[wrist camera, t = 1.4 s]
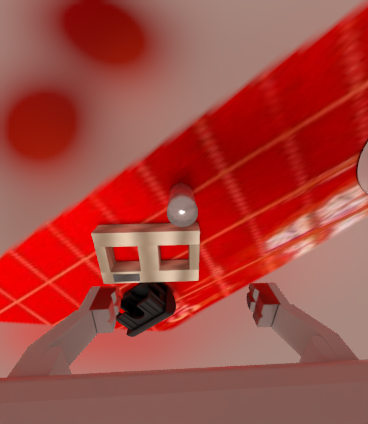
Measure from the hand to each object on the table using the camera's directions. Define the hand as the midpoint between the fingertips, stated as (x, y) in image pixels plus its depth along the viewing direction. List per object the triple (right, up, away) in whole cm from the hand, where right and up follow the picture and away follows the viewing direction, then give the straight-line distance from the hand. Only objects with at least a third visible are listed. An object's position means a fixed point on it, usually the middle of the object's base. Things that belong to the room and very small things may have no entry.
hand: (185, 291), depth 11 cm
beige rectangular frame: (-6, -2, +23) cm, 24 cm away
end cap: (-8, -13, +28) cm, 32 cm away
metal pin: (-1, +8, +19) cm, 21 cm away
